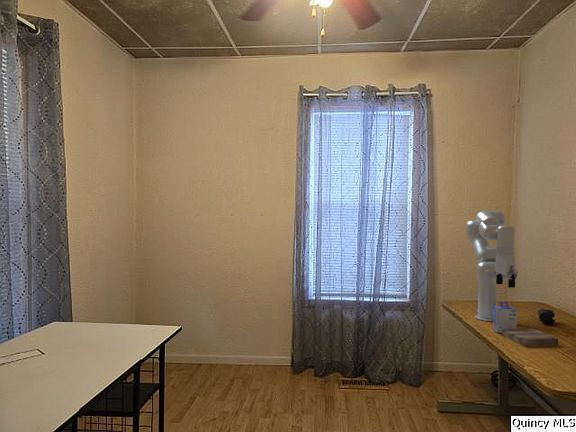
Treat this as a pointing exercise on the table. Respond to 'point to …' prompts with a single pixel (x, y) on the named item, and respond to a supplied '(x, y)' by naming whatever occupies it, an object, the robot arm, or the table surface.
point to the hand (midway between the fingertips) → (505, 285)
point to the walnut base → (530, 337)
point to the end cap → (546, 316)
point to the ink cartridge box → (504, 317)
